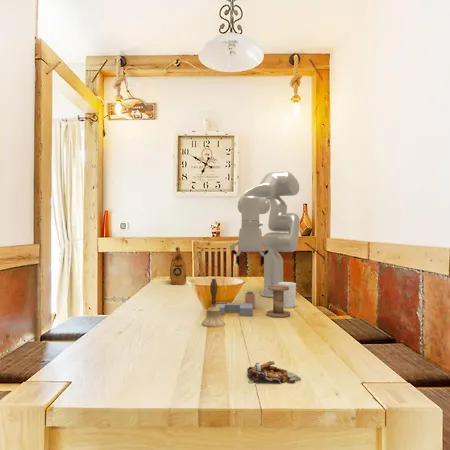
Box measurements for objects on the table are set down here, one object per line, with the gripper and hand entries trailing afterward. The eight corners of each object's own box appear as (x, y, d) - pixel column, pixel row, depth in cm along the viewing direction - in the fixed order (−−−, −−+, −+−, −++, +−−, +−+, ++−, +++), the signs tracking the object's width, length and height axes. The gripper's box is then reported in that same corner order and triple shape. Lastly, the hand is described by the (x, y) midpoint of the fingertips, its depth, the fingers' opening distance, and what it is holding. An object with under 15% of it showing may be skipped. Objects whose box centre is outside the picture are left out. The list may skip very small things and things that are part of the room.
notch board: (252, 310, 157) (252, 303, 158) (252, 316, 148) (252, 308, 148) (213, 309, 158) (213, 302, 158) (211, 315, 148) (211, 307, 148)
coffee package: (168, 285, 225) (168, 247, 226) (170, 282, 238) (170, 246, 238) (185, 285, 226) (185, 247, 226) (186, 282, 238) (186, 246, 239)
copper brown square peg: (245, 307, 165) (245, 291, 165) (254, 307, 164) (254, 291, 164) (245, 309, 161) (245, 292, 161) (254, 309, 160) (254, 292, 160)
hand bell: (230, 324, 136) (230, 278, 136) (213, 328, 129) (213, 281, 130) (213, 320, 141) (213, 276, 141) (196, 324, 135) (196, 278, 135)
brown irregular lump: (302, 386, 84) (302, 369, 84) (247, 385, 84) (247, 369, 84) (296, 373, 91) (297, 358, 91) (246, 373, 91) (246, 358, 91)
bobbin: (266, 312, 155) (266, 284, 155) (288, 312, 154) (288, 285, 154) (267, 317, 146) (267, 288, 146) (291, 317, 145) (291, 288, 145)
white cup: (295, 304, 170) (295, 282, 170) (296, 308, 162) (296, 284, 162) (277, 304, 171) (277, 281, 171) (277, 308, 163) (278, 284, 163)
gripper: (270, 225, 166) (270, 265, 166) (230, 225, 167) (229, 264, 167) (271, 225, 158) (271, 266, 158) (229, 224, 159) (229, 266, 159)
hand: (250, 265), depth 162 cm, fingers open, 9 cm apart
